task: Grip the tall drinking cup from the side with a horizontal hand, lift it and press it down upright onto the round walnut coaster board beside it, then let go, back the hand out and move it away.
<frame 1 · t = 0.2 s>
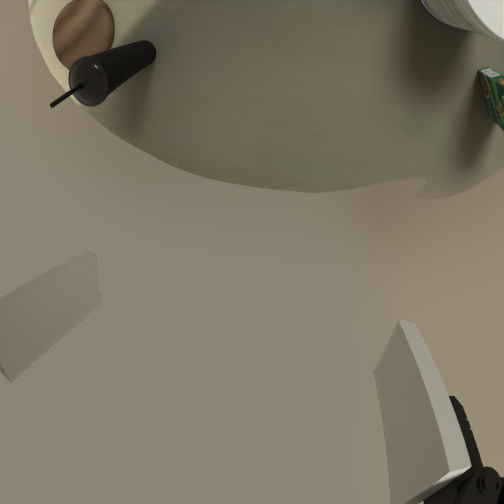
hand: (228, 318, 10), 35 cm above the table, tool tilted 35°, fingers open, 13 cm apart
coaster board: (83, 33, 28), on the table
drinking cup: (144, 52, 32), on the table
coffee box: (488, 90, 21), on the table
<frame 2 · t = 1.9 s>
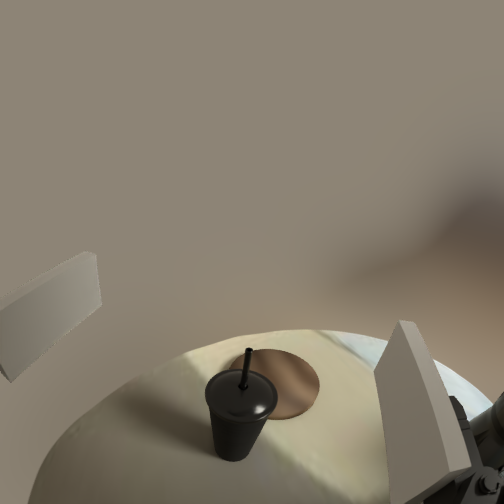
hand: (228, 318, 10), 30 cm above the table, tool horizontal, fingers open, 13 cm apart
coaster board: (273, 384, 44), on the table
drinking cup: (232, 448, 30), on the table
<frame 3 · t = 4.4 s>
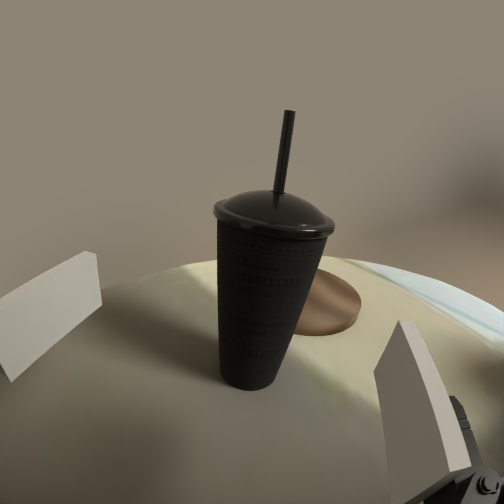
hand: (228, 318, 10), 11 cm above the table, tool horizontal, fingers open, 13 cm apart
coaster board: (299, 298, 35), on the table
drinking cup: (247, 372, 22), on the table
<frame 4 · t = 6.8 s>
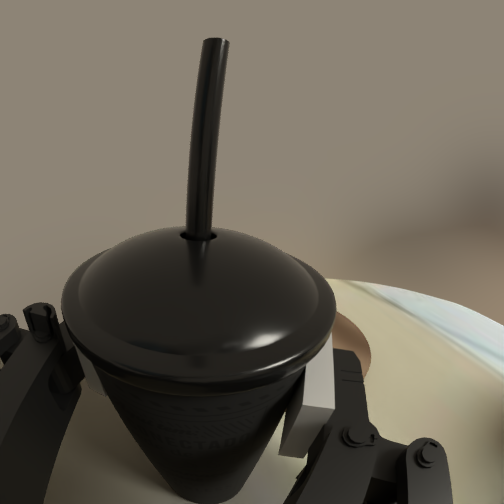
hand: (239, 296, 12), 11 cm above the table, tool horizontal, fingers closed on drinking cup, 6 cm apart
coaster board: (288, 348, 25), on the table
drinking cup: (205, 474, 12), on the table, touching gripper
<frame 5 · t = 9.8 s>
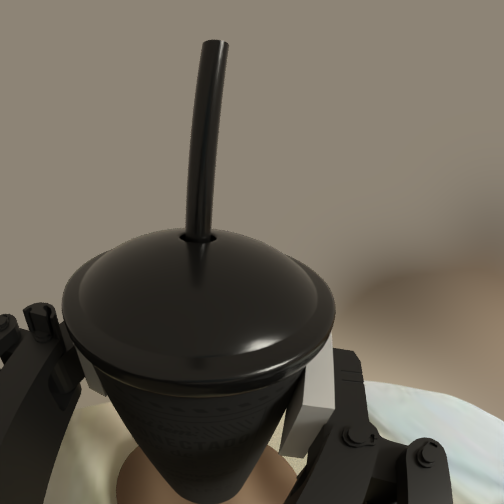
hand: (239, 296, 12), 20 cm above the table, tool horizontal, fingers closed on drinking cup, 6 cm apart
coaster board: (209, 499, 16), on the table
drinking cup: (205, 474, 12), point 9 cm above the table, touching gripper
when the fingers open (12 cm above the table, at t = 12.8 s): drinking cup stays where it is, resting on coaster board.
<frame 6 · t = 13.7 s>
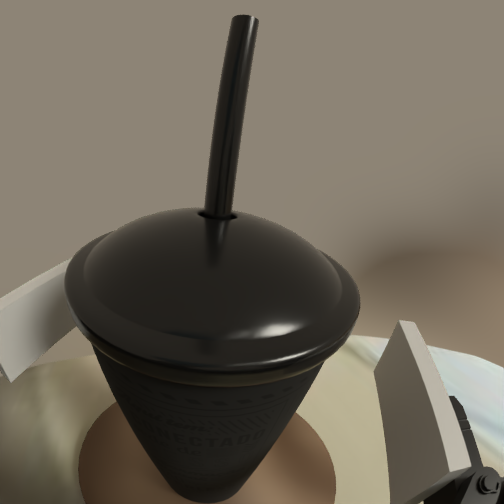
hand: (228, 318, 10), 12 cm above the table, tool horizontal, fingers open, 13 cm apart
coaster board: (205, 477, 12), on the table
drinking cup: (204, 472, 12), point 1 cm above the table, touching coaster board
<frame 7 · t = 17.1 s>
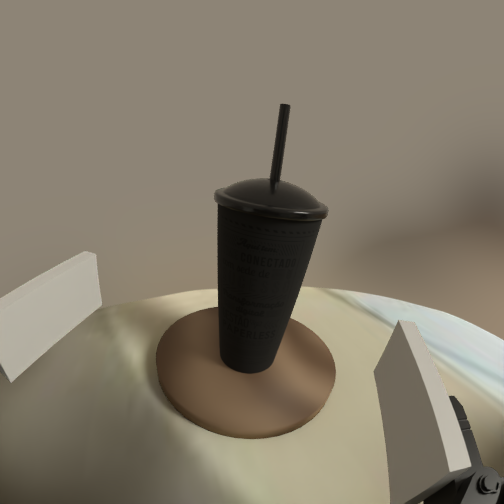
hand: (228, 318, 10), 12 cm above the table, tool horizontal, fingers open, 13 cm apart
coaster board: (245, 365, 23), on the table
drinking cup: (246, 356, 23), point 1 cm above the table, touching coaster board
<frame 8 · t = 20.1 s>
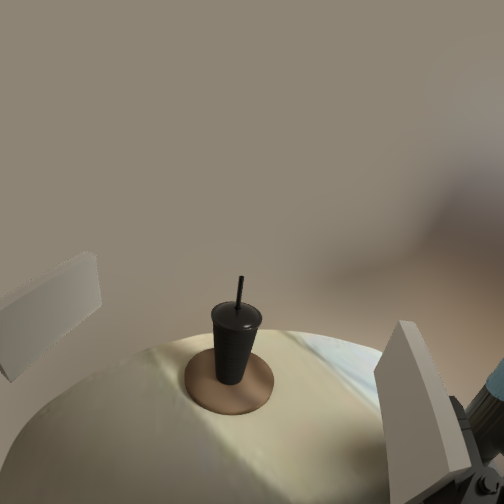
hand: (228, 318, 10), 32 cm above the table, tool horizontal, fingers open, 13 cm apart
coaster board: (229, 380, 45), on the table
drinking cup: (229, 376, 45), point 1 cm above the table, touching coaster board
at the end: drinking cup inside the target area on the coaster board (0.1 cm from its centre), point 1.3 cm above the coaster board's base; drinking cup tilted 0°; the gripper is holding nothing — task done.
